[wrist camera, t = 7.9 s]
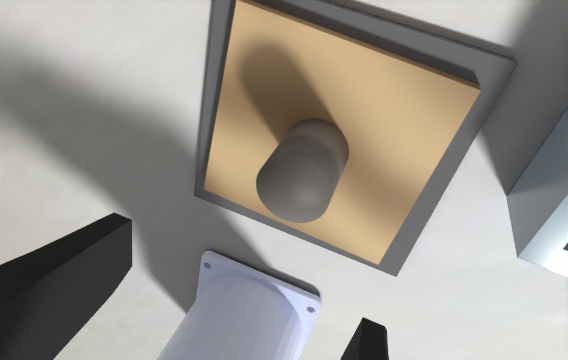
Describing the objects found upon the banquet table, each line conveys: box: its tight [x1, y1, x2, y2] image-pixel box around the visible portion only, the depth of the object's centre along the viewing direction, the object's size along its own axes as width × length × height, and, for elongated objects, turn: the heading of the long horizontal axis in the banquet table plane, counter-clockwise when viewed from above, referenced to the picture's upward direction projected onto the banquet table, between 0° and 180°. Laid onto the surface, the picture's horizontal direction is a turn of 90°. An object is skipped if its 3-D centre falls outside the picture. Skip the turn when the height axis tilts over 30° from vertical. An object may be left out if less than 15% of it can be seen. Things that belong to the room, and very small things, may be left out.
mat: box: [194, 0, 517, 277], centre depth 20 cm, size 12×12×1 cm
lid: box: [204, 0, 481, 265], centre depth 18 cm, size 10×10×4 cm
